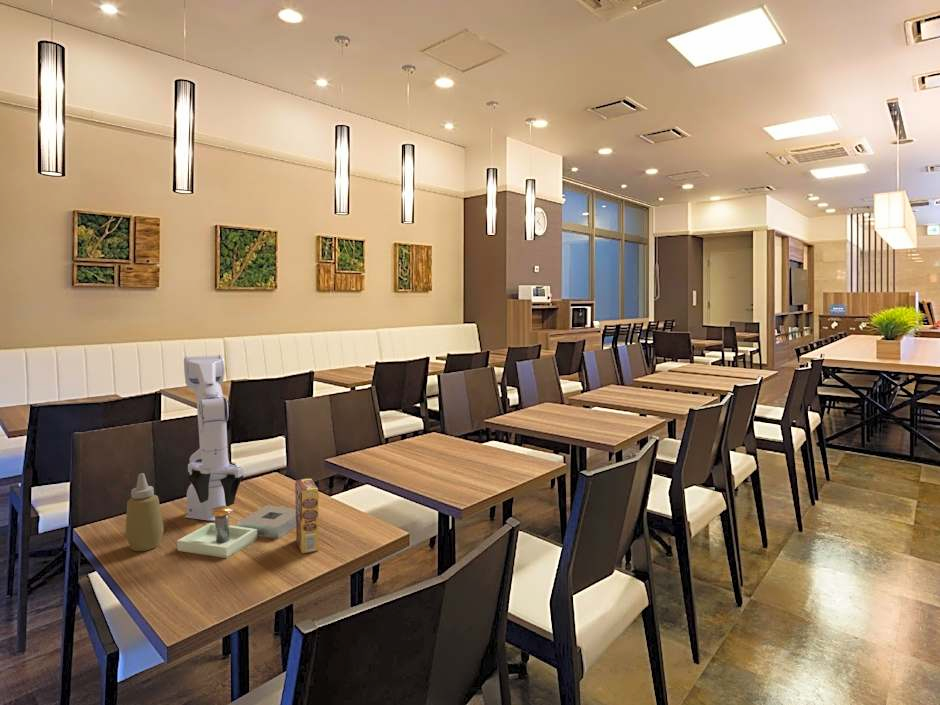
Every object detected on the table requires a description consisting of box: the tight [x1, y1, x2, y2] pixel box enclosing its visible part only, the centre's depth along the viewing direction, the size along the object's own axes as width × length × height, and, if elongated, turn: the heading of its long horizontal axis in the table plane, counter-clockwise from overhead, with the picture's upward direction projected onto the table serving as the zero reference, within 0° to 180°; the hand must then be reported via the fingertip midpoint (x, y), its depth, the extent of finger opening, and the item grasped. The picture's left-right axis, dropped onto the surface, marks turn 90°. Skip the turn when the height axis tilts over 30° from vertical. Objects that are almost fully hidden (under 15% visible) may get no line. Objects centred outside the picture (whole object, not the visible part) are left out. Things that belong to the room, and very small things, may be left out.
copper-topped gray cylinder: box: [212, 506, 232, 543], centre depth 138 cm, size 4×4×8 cm
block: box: [237, 504, 296, 540], centre depth 149 cm, size 12×12×3 cm
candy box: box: [294, 478, 320, 554], centre depth 137 cm, size 9×4×15 cm, turn 26°
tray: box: [176, 522, 258, 559], centre depth 138 cm, size 14×11×2 cm
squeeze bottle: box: [124, 472, 165, 552], centre depth 136 cm, size 8×8×18 cm
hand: (216, 503), depth 137 cm, fingers open, 7 cm apart
